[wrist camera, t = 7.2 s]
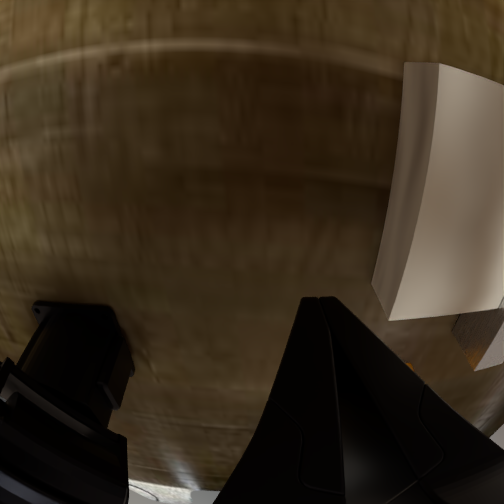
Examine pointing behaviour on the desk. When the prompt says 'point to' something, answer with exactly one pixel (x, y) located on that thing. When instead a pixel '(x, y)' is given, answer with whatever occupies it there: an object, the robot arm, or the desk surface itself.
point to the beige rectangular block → (444, 197)
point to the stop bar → (482, 336)
